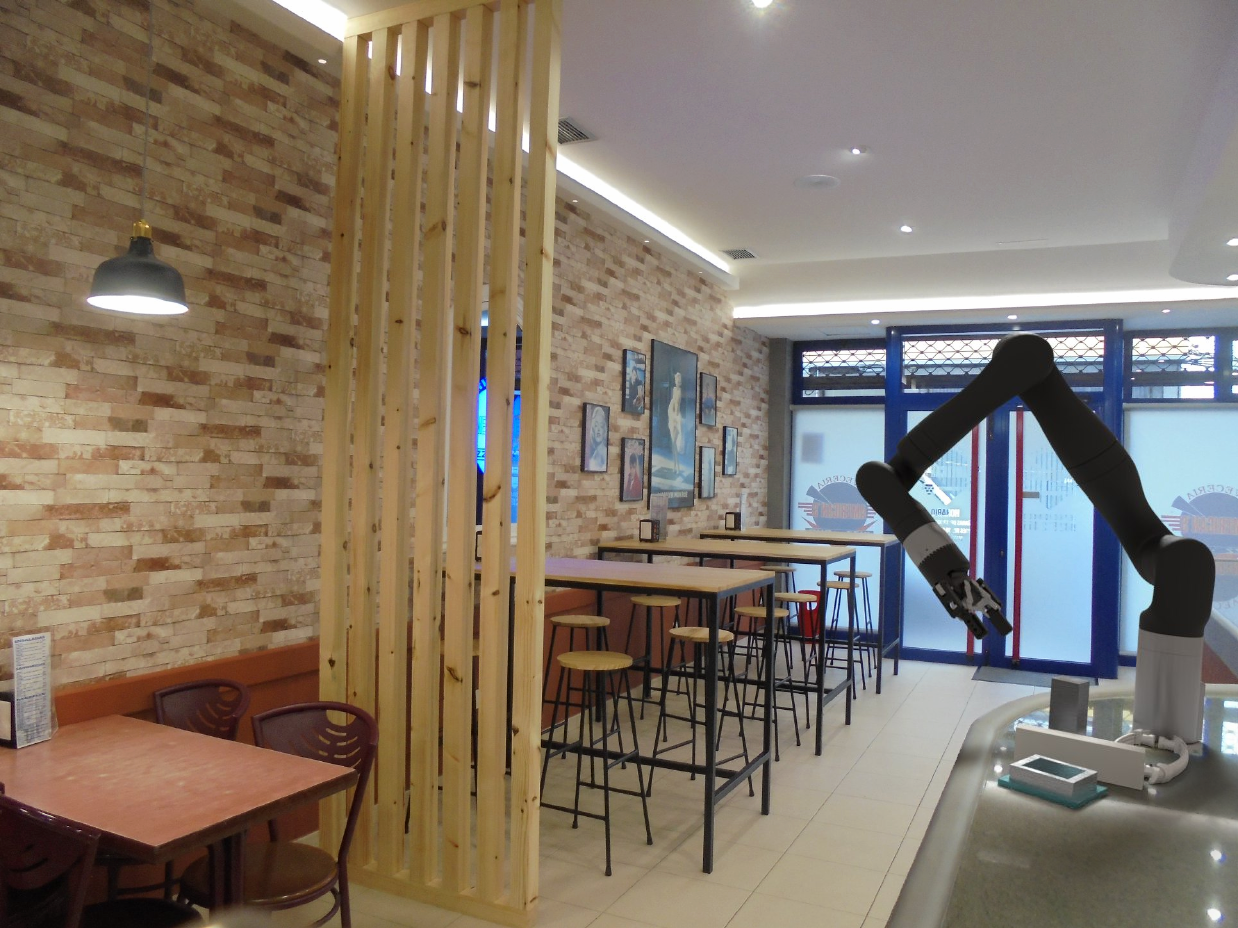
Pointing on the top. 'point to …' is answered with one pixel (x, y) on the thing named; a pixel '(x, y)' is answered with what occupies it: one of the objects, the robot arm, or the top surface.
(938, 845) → the top surface
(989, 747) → the top surface
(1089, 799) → the keeper
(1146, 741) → the door handle
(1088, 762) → the door edge
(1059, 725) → the block
